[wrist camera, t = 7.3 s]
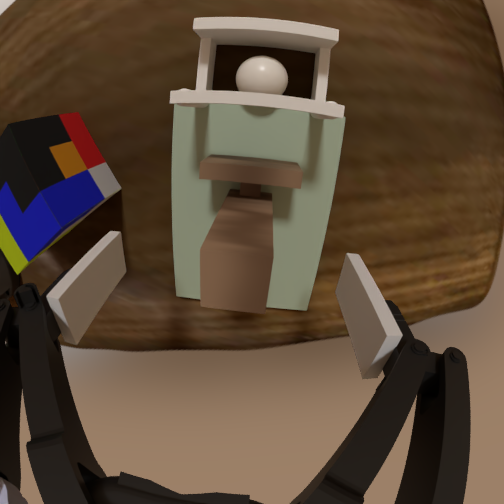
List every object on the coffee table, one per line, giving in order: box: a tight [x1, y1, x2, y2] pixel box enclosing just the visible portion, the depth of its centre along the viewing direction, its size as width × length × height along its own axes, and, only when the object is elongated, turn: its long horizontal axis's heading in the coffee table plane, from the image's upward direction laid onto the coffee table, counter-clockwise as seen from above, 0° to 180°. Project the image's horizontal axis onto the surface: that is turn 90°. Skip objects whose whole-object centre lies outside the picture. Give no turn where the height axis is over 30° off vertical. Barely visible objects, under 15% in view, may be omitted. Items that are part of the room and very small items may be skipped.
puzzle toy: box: [0, 112, 122, 275], centre depth 20 cm, size 10×10×10 cm
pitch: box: [170, 17, 345, 311], centre depth 21 cm, size 14×26×8 cm, turn 175°
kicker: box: [199, 154, 303, 314], centre depth 18 cm, size 7×6×11 cm
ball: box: [236, 56, 288, 95], centre depth 18 cm, size 4×4×4 cm
